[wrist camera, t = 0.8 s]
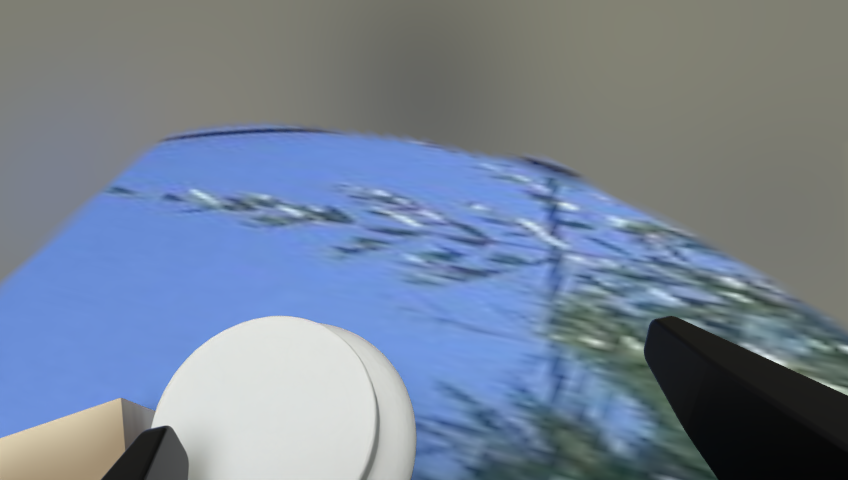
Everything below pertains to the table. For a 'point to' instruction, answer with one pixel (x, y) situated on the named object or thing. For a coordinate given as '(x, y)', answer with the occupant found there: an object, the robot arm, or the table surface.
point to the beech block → (74, 443)
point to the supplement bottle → (290, 406)
